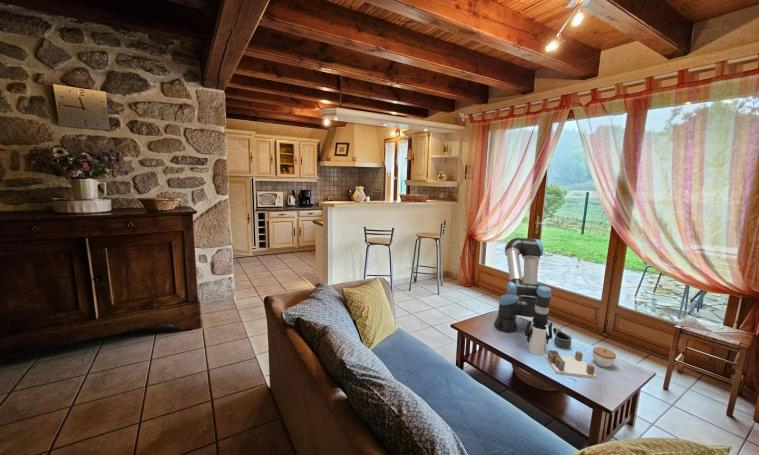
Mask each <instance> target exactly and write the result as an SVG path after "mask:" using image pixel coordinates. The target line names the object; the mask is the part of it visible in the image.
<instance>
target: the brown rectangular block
mask: <svg viewBox="0 0 759 455" xmlns="http://www.w3.org/2000/svg"><path fill="white" fill-rule="evenodd" d="M551 353H552V354H553V356H554V361H553V363H554V364H555V365H556V367H559V362H560V360H562V358H561V357H560V356H561V355H560V354H559V352H558V351H556V350H553V351H551ZM562 361H563V360H562Z"/></svg>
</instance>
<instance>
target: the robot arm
mask: <svg viewBox="0 0 759 455" xmlns="http://www.w3.org/2000/svg"><path fill="white" fill-rule="evenodd" d="M504 254H505V256H506V259H507V267H508V275H509V276H508V277H509V281H508V282H507V284H506V291H507V293H506V294H502V295H501V296H500V298H499V301H498V312H497V317H496V318H495V320H494V324H493V328H495V329H496V330H498V331H500V332H503V333H507V334H514V333H517V332H518V323H517V316H519V317H525V318H532V319H527V323H526V327H525V330H524V332H523V335H524V336H525V337H526V342H527V347H528V349H529V348H530V346H531V335H532V332H533V330H532V329H531V327H532V324H533V327H535V328H537V327H538V328H539V327H540V328H543V330H545V329H546V327H547V330H548V331H547V332H546V339H545V346H544V351H545V350H547V345H548V344H549V340H550V339H551V340H553V322H552V321H548V319H549V312H550V304H551V297H552V288H550V287H548V286H545V285H542V284H541V283H539V282H538V260H540V259H541V257H543V255H544V245H543V242H542V241H541V240H540V239H538V238H537V239H536V238H527V237H514V238H511V239H510V240H509V241H508V242H507V243H506V245H505V247H504ZM520 255H521V258H522V259H523V275H522V270H521V269H522V268H521V262H520ZM518 295H519V296H520V298H519V296H518ZM545 326H546V327H545Z"/></svg>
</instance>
